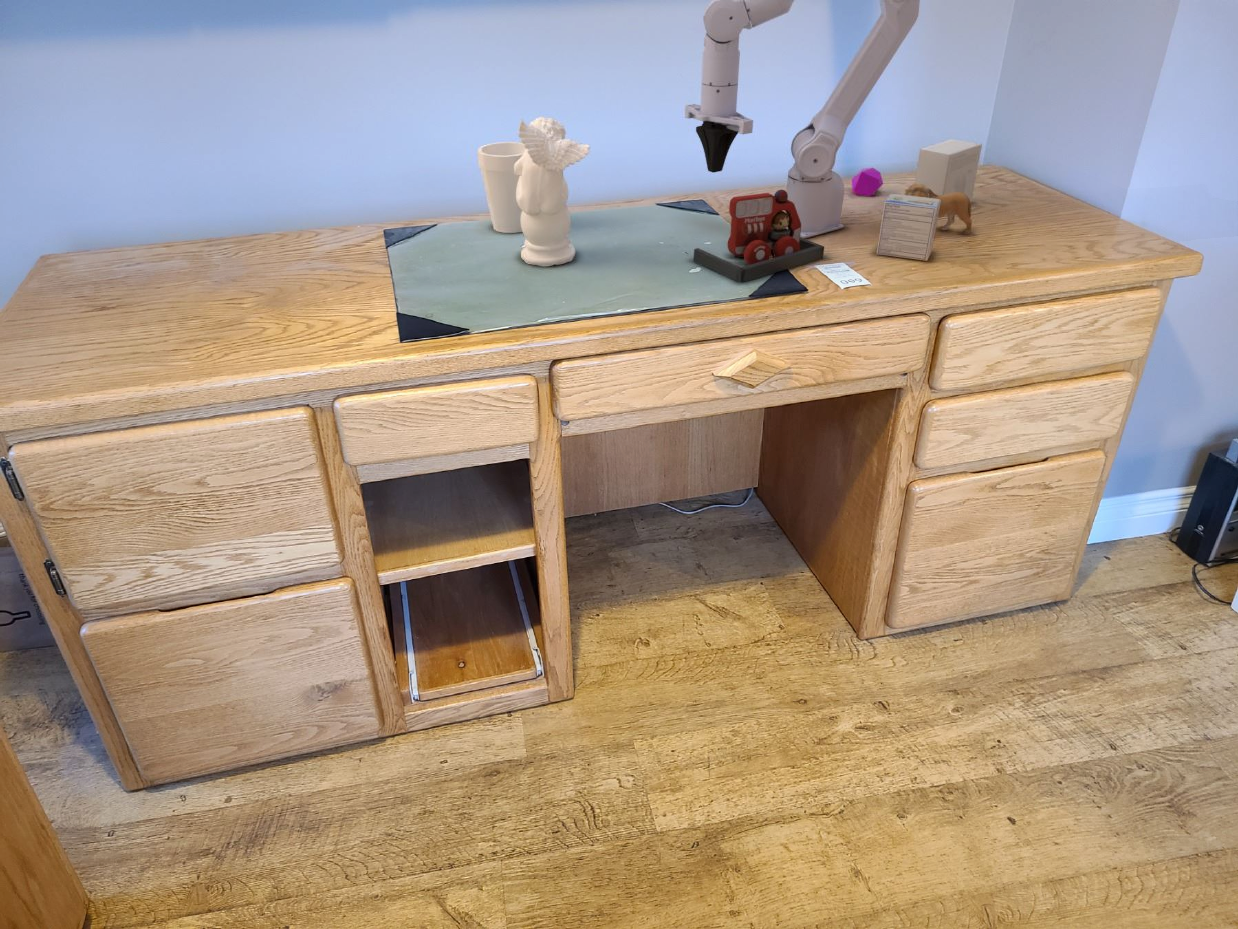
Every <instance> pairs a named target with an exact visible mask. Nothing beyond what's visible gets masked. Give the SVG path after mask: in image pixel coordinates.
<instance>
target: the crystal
mask: <svg viewBox="0 0 1238 929" xmlns="http://www.w3.org/2000/svg"><path fill="white" fill-rule="evenodd" d="M850 181H851V188H852V192H853V194H854V195H856V196H863V197H871V196H873V195H874V193H876V192H877V191H878V190H879V189H881V187H882V186H883V185H884V181H883V177H882V173H881V172H880V171H879V170H878V169H876V168H874V167H865V168H862V169H860V170H859V171H858V173H857V174H856V175H854V177H853V178H851V180H850Z"/></svg>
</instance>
